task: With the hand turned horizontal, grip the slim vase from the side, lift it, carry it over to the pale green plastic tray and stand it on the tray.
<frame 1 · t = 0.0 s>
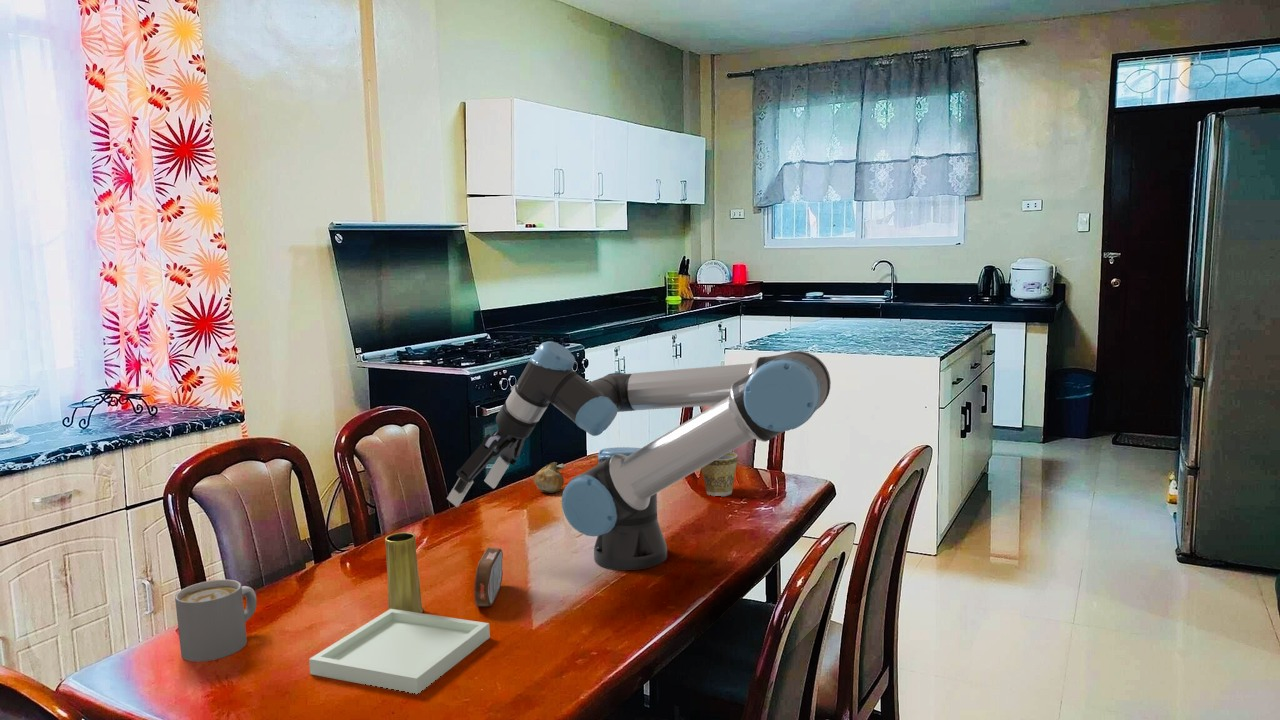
hand: (471, 493, 181), 15 cm above the table, tool tilted 35°, fingers open, 13 cm apart
vase: (405, 614, 160), on the table
tray: (403, 655, 144), on the table
ceramic cup: (718, 492, 231), on the table
onion: (549, 492, 236), on the table
coffee mug: (224, 645, 150), on the table
tin: (490, 598, 166), on the table
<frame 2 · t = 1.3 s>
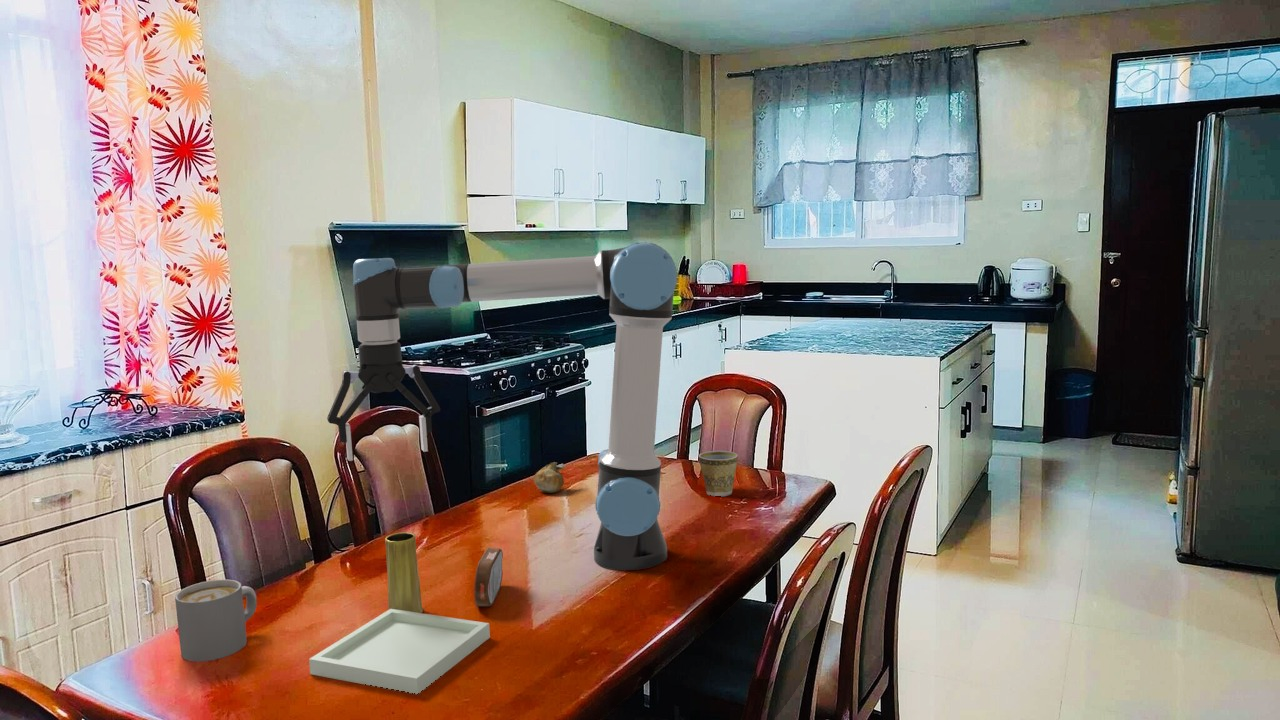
hand: (387, 455, 167), 27 cm above the table, tool pointing down, fingers open, 13 cm apart
nothing on the table moved.
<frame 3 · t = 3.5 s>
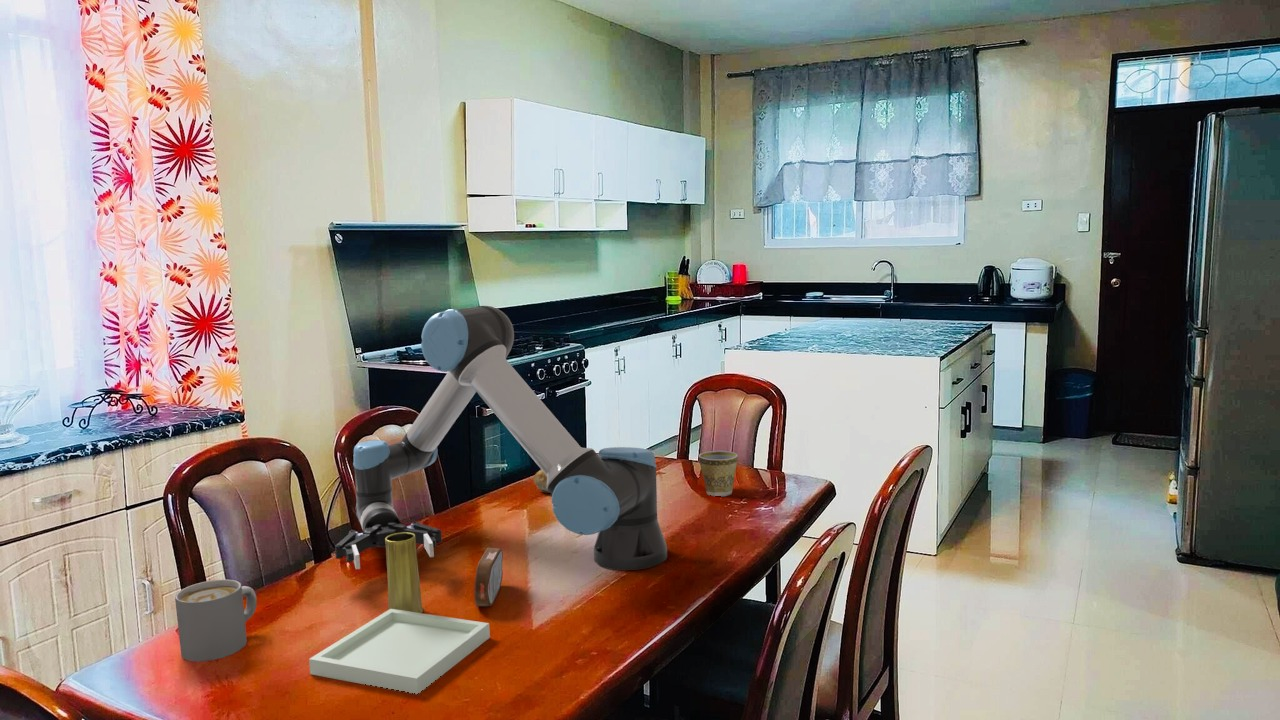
hand: (395, 556, 168), 8 cm above the table, tool horizontal, fingers open, 13 cm apart
nothing on the table moved.
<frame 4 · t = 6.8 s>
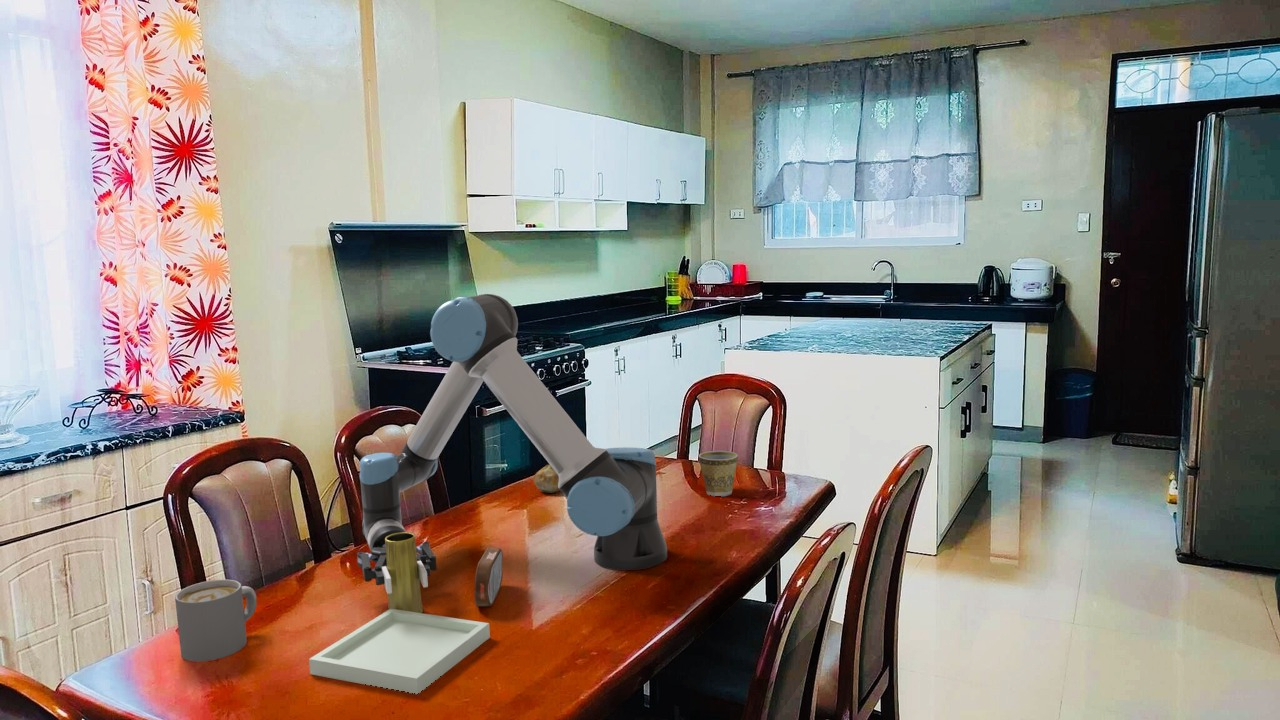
hand: (407, 582, 155), 8 cm above the table, tool horizontal, fingers closed on vase, 5 cm apart
vase: (405, 614, 160), on the table, touching gripper
everything else where it was.
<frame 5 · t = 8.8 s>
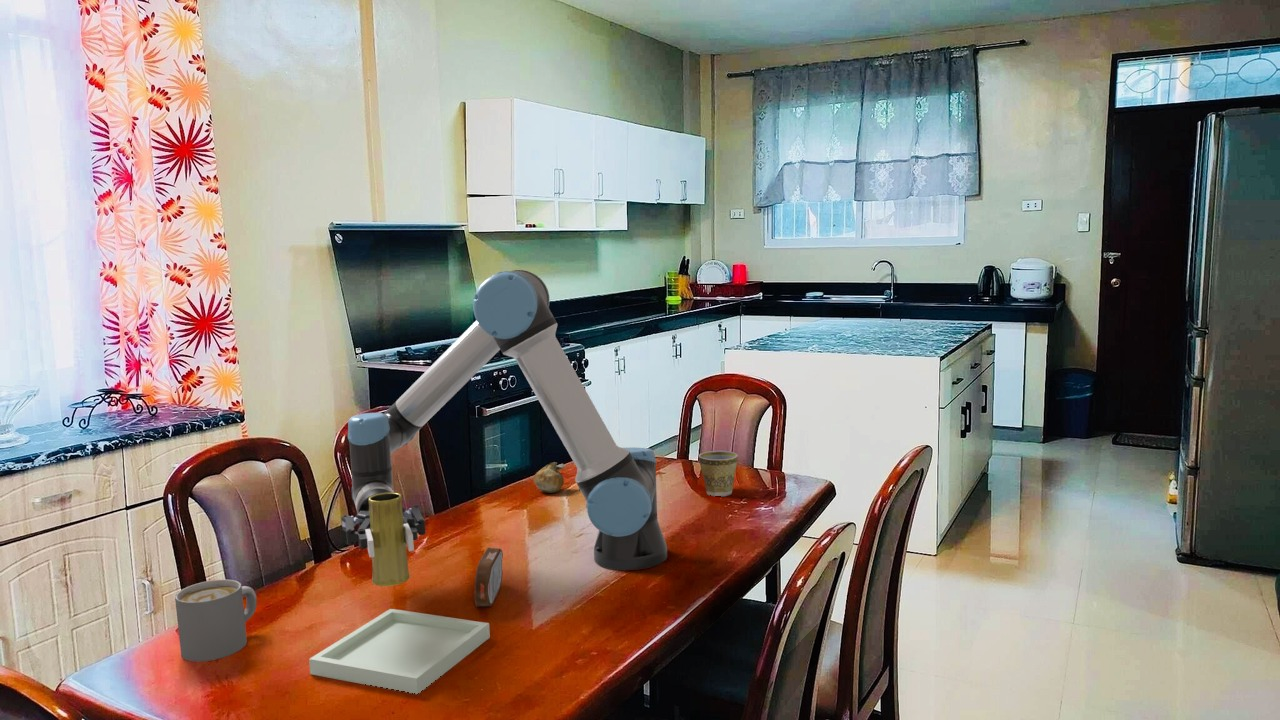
hand: (391, 545, 143), 18 cm above the table, tool horizontal, fingers closed on vase, 5 cm apart
vase: (391, 581, 148), point 10 cm above the table, touching gripper
everything else where it was.
when the fingers open (10 cm above the table, at t = 11.0 s): vase drops 1 cm, resting on tray.
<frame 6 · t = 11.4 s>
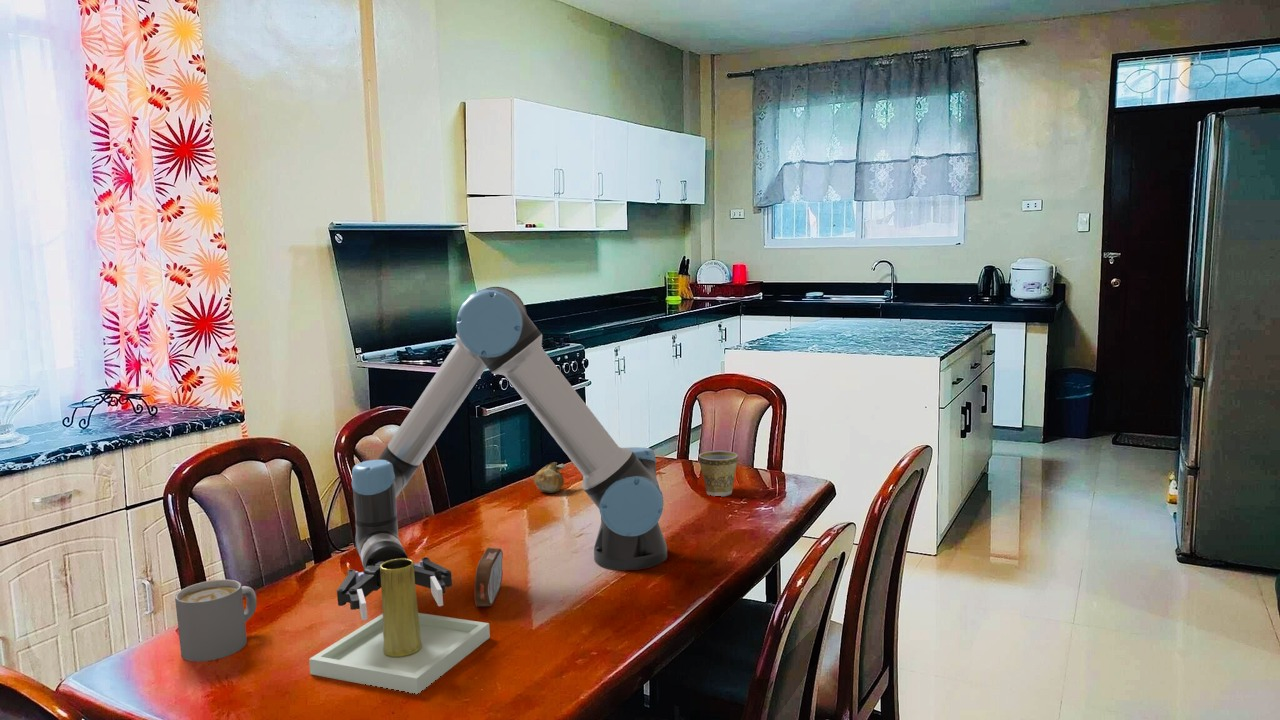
hand: (402, 604, 139), 10 cm above the table, tool horizontal, fingers open, 11 cm apart
vase: (402, 650, 144), point 1 cm above the table, touching tray
everything else where it was.
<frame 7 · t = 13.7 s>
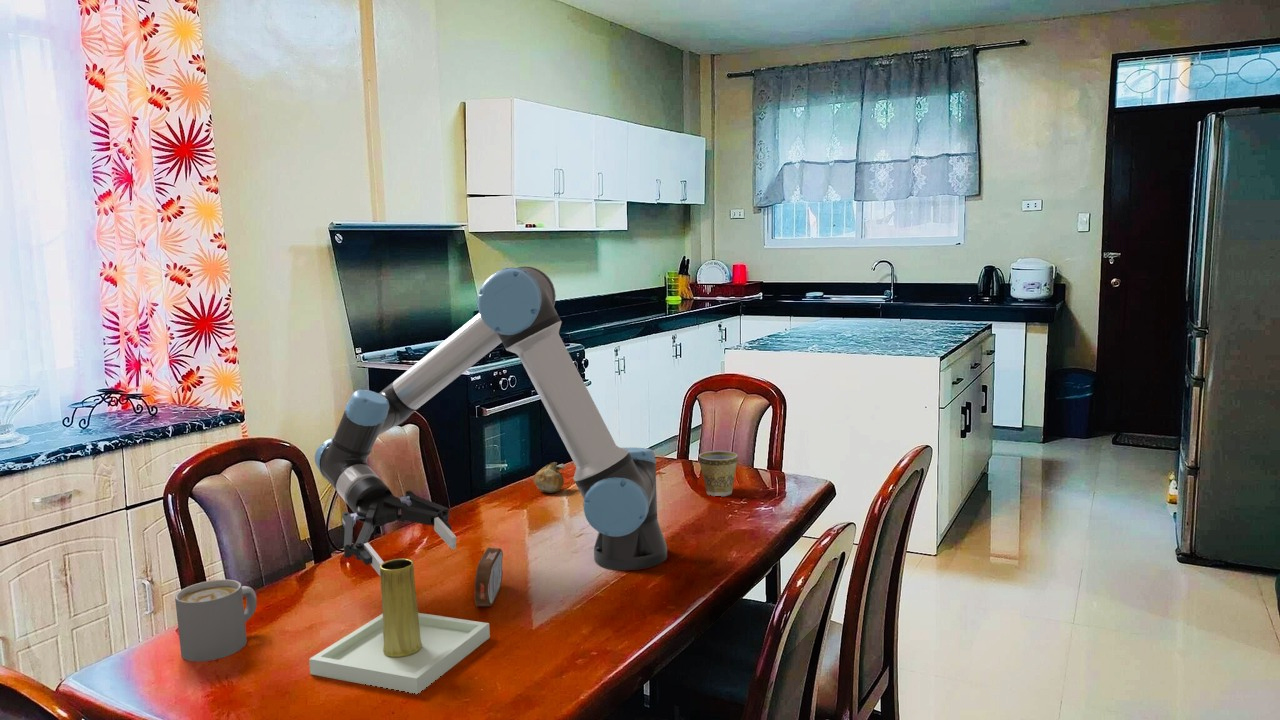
hand: (419, 556, 155), 12 cm above the table, tool tilted 70°, fingers open, 13 cm apart
nothing on the table moved.
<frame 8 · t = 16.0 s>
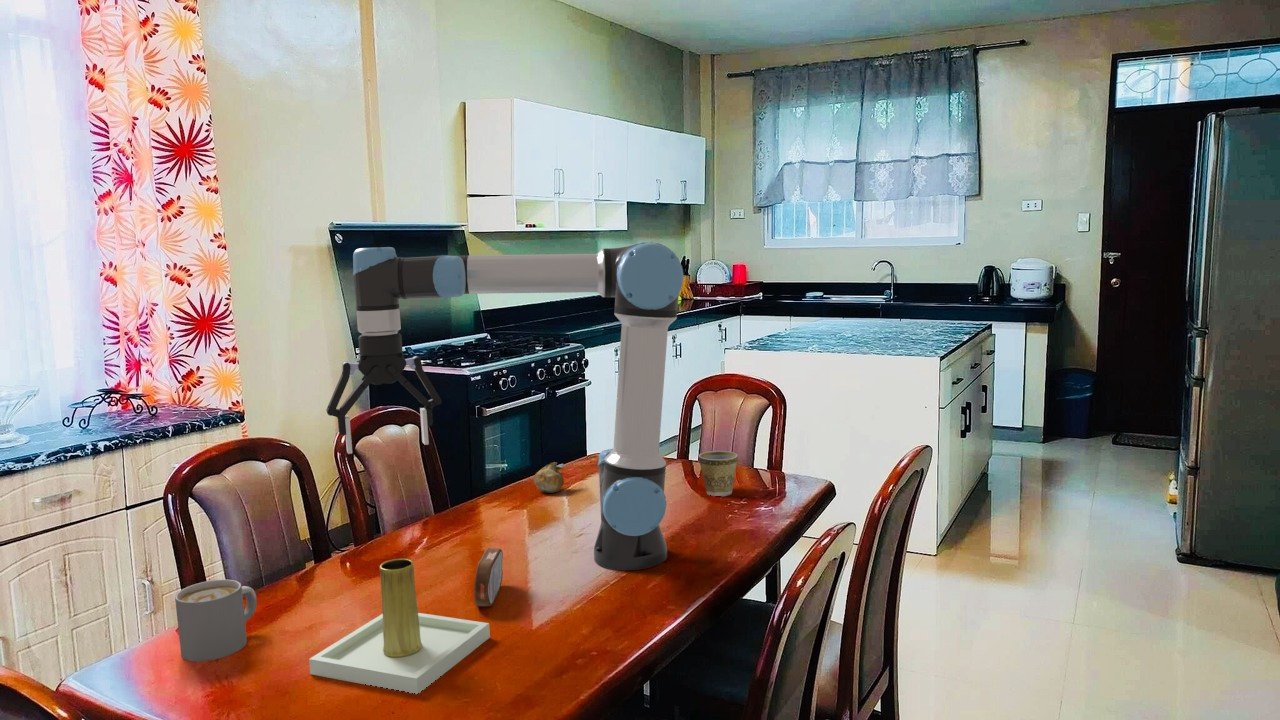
hand: (388, 447, 164), 29 cm above the table, tool pointing down, fingers open, 13 cm apart
nothing on the table moved.
at the end: vase inside the target area on the tray (0.0 cm from its centre), point 0.8 cm above the tray's base; vase tilted 0°; the gripper is holding nothing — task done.
